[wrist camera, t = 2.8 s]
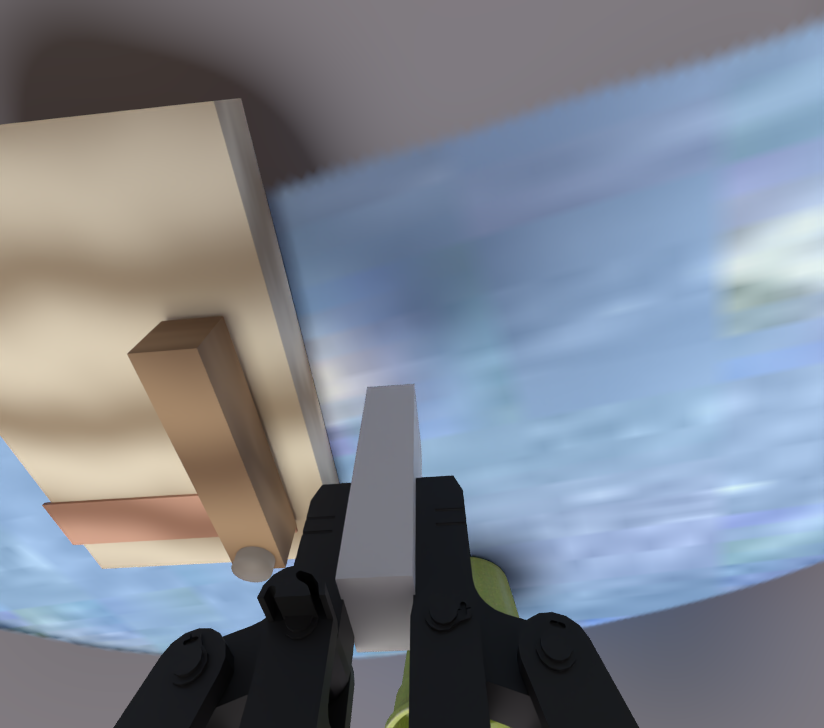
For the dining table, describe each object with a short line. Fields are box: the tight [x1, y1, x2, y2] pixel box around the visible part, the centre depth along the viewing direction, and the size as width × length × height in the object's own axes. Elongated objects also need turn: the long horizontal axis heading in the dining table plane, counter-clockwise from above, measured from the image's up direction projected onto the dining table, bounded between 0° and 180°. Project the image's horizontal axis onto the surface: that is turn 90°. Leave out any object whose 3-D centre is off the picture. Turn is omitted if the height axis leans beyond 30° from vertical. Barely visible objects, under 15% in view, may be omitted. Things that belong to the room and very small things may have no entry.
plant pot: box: [385, 557, 519, 728], centre depth 27 cm, size 9×9×9 cm
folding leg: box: [127, 316, 297, 582], centre depth 19 cm, size 12×2×3 cm, turn 5°
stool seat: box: [0, 98, 339, 569], centre depth 21 cm, size 22×14×3 cm, turn 5°
